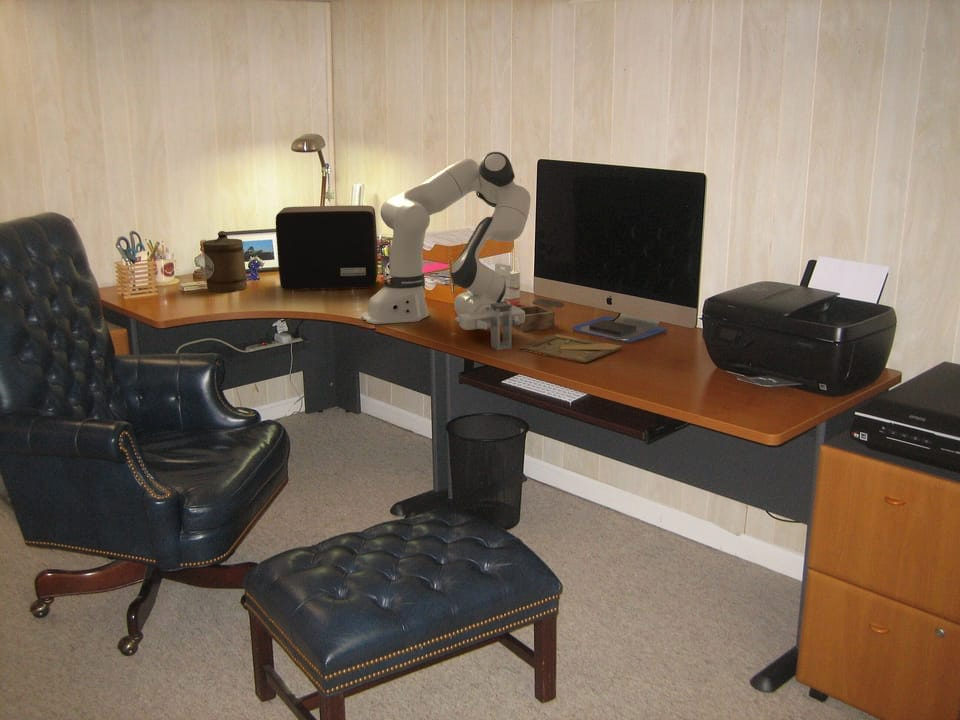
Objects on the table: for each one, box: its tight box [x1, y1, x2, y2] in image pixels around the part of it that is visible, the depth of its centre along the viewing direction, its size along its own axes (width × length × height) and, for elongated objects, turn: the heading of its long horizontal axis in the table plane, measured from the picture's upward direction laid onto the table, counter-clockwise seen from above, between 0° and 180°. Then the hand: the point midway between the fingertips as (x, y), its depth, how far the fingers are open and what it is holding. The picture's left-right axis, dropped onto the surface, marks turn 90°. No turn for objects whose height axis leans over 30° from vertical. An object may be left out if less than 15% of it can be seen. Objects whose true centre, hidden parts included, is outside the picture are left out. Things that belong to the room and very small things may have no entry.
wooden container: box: [202, 230, 248, 293], centre depth 360 cm, size 15×15×22 cm
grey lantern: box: [490, 302, 513, 351], centre depth 277 cm, size 5×5×13 cm
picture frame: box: [518, 333, 623, 364], centre depth 276 cm, size 19×2×24 cm
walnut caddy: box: [512, 304, 555, 332], centre depth 302 cm, size 11×11×5 cm
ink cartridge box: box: [494, 262, 521, 307], centre depth 330 cm, size 9×5×15 cm, turn 42°
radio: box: [275, 204, 379, 291], centre depth 360 cm, size 36×18×30 cm, turn 94°
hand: (502, 324), depth 277 cm, fingers open, 8 cm apart
